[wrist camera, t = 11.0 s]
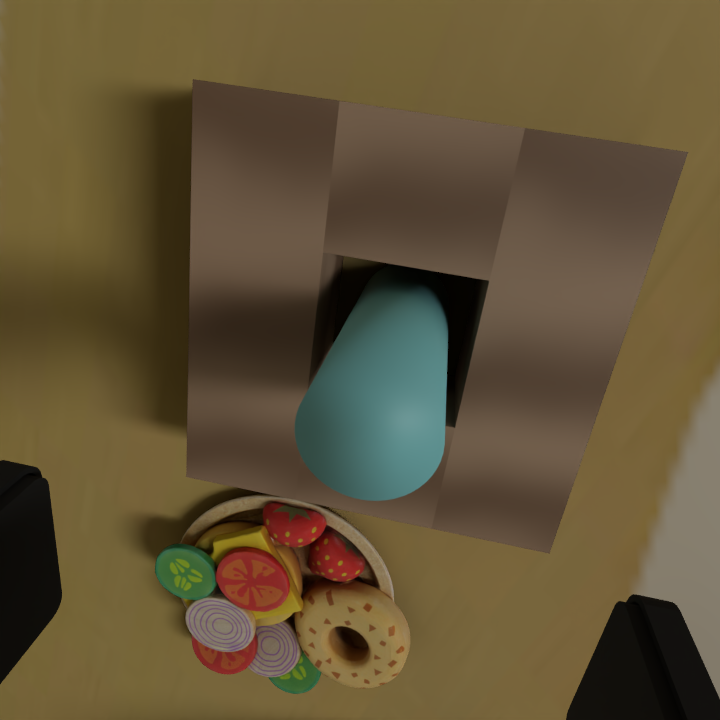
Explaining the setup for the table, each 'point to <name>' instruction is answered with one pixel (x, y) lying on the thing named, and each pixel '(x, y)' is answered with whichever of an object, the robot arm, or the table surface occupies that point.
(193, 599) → the toy food set
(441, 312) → the peg
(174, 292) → the table surface
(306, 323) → the socket block
